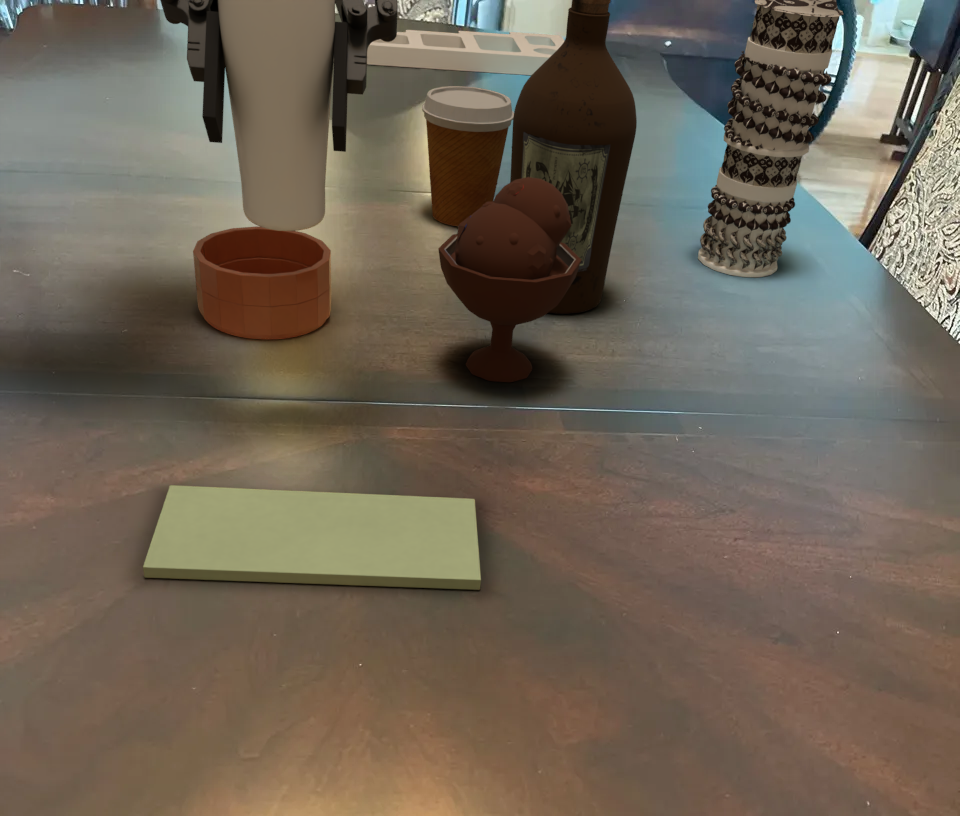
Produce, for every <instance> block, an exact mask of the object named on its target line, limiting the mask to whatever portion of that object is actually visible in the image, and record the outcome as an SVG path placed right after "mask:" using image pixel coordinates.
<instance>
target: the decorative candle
mask: <svg viewBox="0 0 960 816" xmlns="http://www.w3.org/2000/svg"><path fill="white" fill-rule="evenodd" d="M754 4H755V5H756V12H755V15H754V18H753V23H752V30H751V33H750V35H749V36H748V37H747V41H746V44H745V45H746V46H745V51H744V50H741V54H740V56H739V57H738V59H737V60H735V62H734V71H735V73H736V74H737V75H738V76H739V78H736V79H735V80H734V81H733V84H732V85H731V86H730V91H731V93H732V94H731V95H732V98H731V100H729V101H728V102H727V108H728V109H727V113H728V114H729V115H730V116H731V117H732V118H729V119H728V120H727V122H726V123H725V124H724V126H723V131H724V132H723V133H724V134H723V141H724V142H725V143H726V146H725V150H724V155H723V161H722V163H721V166H720V167H719V168H718V173H717V178H716V184H715V186H713V187H711V189H710V196H711V198H712V199H713V200H712V201H711V202H709V203H708V204H707V213H708V214H709V215H710V216H708V217H707V218H705V220H704V221H703V225H702V226H703V231H704V233H702V234H701V236H700V238H699V243H700V246H701V248H699V250H698V254H697V260H698V261H699V262H700V263H702V265H704V266H705V267H707V268H709V269H711V270H713V271H715V272H719V273H721V274H726V275H729V276H734V277H742V278H762V277H767V276H771V275H773V274H774V273H776V272H777V270H778V260H779V258H780V257H781V256H783V251H782V248H783V247H782V246H783V243H785V242H786V241H787V236H786V234H787V231H786V230H785V228H786V227H787V226H788V225H789V224H790V223H791V221H792V218H791V214H790V212H791V211H792V209H793V210H794V208H795V207H796V201H795V197H794V196H795V192H796V189H797V186H798V179H797V177H798V174H799V172H800V167H801V163H802V159H803V156H804V155H805V156H806V154H808V153H809V152H810V145H809V143H812V142H813V141H814V140H815V136H814V134H813V133H812V132H811V130H810V128H811V127H814V126H816V125H818V123H819V121H820V118H819V117H818V116H817V115H816V112H815V111H814V109H815V107H816V106H819V105H820V104H823V103H824V102H825V103H826V101H827V98H828V97H827V94H825V93H824V92H823V90H821V89H823V88H824V87H825V86H828V85H829V84H831V82H832V76H831V75H830V74H829V72H828V70H826V69H828V68H829V66H830V62H831V57H832V54H833V49H832V46H833V41H834V38H835V35H836V32H837V26H838V23H839V21H840V17H841V16H844V15H845V14H844V12H843V10H840V9H839V8H838V2H837V0H754ZM825 70H826V71H825ZM824 71H825V72H824Z"/></svg>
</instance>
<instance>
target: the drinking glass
mask: <svg viewBox="0 0 960 816" xmlns="http://www.w3.org/2000/svg"><path fill="white" fill-rule="evenodd" d="M218 10H219V22H220V32H221V41H222V48H223V56H224V63H225V77H226V83H227V88H228V97H229V104H230V112H231V119H232V124H233V133H234V139H235V147H236V153H237V161H238V168H239V177H240V183H241V199H242V200H241V201H242V211H243V213H244V216H245V217H246V219H248V222H249V221H250V223H252V224H253V225H256V227H263V228H266V229H271V230H278V231H298V232H299V231H303V230H308V229H312V228H314V227H316V226H317V225H319V224H321V223H322V221H323V220H324V218H325V215H326V179H327V178H326V176H327V160H328V147H329V146H328V144H329V133H330V117H331V102H332V92H333V71H334V38H335V22H336V4H335V0H218Z"/></svg>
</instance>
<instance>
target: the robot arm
mask: <svg viewBox="0 0 960 816" xmlns="http://www.w3.org/2000/svg"><path fill="white" fill-rule="evenodd" d="M159 1H160V4H161V7H162V11H163V15H164V17H165V20H166V21H167V22H168V23H169V24H172V25H178V24H183V25H185V26H187V41H186V42H187V44H186V61H187V65H188V68H189V72H190V75H191V78H192V79H193V82H199V83H203V92H202V94H203V95H202V114H201V117H202V120H203V124H204V128H205V131H206V134H207V138H208V141H209V143H215V144H216V143H218V144H223V134H224V132H223V131H224V130H223V129H224V107H225V105H224V104H225V83H226V82H225V77H226V70H225V63H224V56H223V48H222V41H221V32H220V22H219V10H218V0H159ZM398 4H399V3H398V0H374V5H373V6H368V4H367V3H365V2H364V0H335V8H336V10H337V13H338V16H339V19H340V21H335V38H334V63H333V77H332V105H331V106H332V110H331V132H332V133H331V134H332V147H333V149H332V150H333V152H341V153H342V152H343V153H346V152H347V126H348V95H349V94H351V95H362V96H363V95H364V93H365V91H366V88H367V78H368V77H367V76H368V75H367V73H368V64H367V50H368V46H369V45H370V44H371V43H372V42H373V41H375V40H379V39H381V40H383V41H385V42H390V41H393V40H394V39H395V38H396V35H397V32H398V11H399V10H398V8H399V7H398Z"/></svg>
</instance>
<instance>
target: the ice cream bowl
mask: <svg viewBox="0 0 960 816" xmlns="http://www.w3.org/2000/svg"><path fill="white" fill-rule="evenodd" d="M571 226H572V225H571V220H570V214H569V209H568V204H567V203H566V201H565V199H564V197H563V195H562V193H561V192H560V191H559V190H558V189H557V188H556V187H555V186H553V185H552V184H550V183H548V182H546V181H544V180H542V179H539V178H532V177H526V178H521V179H516V180H514V181H512V182H511V183H510V182H509V183H507V184H506V185H504V186H503V187H502V188H501V189H500V190H499V192H498V193H497V194H495V196H494V200H493V202H486V203H485V204H483V206H482V207H481V208H480V209H478V210H477V211H476V212H474V213H473V214H472V215H470V216H469V217H468V218H466V219H465V220H464V221H463V222H461V223H460V224H459V225H458V226H457V233H454V234H451V236H449V237H448V238H447V239H446V241H444V242H443V243H442V244H441V246H439V247H438V249H437V250H438V256H439V264H440V269H441V271H442V272H441V273H442V275H443V277H444V280H445V281H446V284H447V285H448V287H449V288H450V289H451V291H452V292H453V293H454V294H455V296H456V297H457V299H458V300H459V301H460V302H461V303H462V305H463V306H464V307H465V308H466V309H467V311H469V312H470V313H471V314H473V315H475V316H476V317H477V318H479V319H481V320H484V321H487V322H489V323H490V326H491V338H490V344H489V345H487V346H484V347H481V348H479V349H475V350H473V352H472V353H471V354H470V356H468V358H467V360H466V363H465V366H466V368H467V369H468V370H469V372H470V373H471V375H473V376H475V377H478V378H480V379H483V380H486V381H489V382H496V383H497V382H499V383H513V382H517V381H520V380H525V379H527V378H528V377H529V375H530V374H531V372H532V370H533V366H532V362H531V361H530V360H529V359H528V357H527V356H526V355H525V354H524V353H523V352H521V351H519V350H517V349H515V348H514V347H513V337H514V336H513V335H514V330H515V328H516V326H517V325H522V324H527V323H531V322H532V321H535V320H538V319H540V318H542V317H545V316H546V315H547V314H549V313H548V312H550V311H551V310H552V309H553V308H555V307H556V306H557V305H558V304H559V302H560V301H561V299H562V298H563V296H564V295H565V294H566V292H567V290H568V289H569V287H570V286H571V284H572V282H573V281H574V279H575V277H576V274H577V271H578V269H579V266H580V263H581V259H580V258H579V257H578V256H577V255H576V254H575V253H574V252H573V251H572V250H571V249H570V248H569V247H568V246H567V245H566V244H565V243H562V242H561V241H562V240H563V238H564V237H565V235H566V234H567V232H568V231H569V229H570V227H571Z"/></svg>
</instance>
